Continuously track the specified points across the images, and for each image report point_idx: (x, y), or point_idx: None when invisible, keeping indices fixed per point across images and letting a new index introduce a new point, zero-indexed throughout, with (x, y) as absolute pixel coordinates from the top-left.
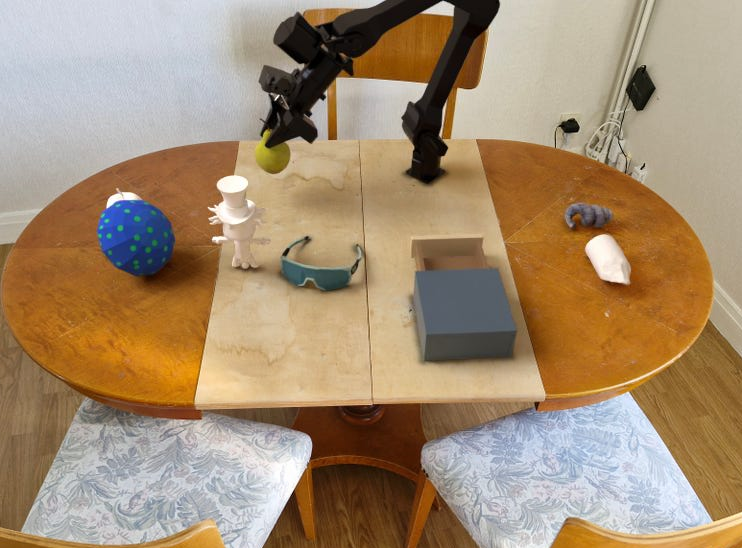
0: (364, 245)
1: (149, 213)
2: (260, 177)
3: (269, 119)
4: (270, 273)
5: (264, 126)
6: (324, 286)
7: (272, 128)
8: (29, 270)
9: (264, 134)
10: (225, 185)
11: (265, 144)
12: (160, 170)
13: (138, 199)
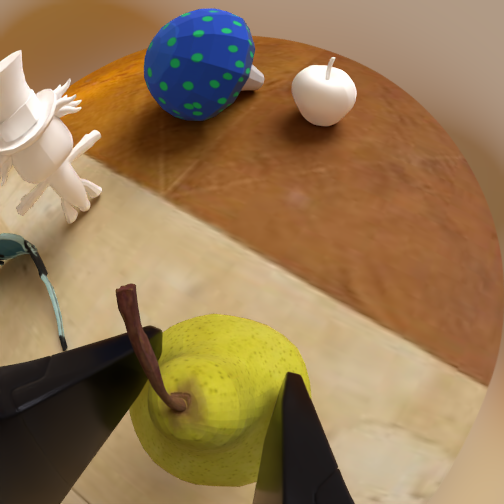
0: None
1: (169, 36)
2: (363, 400)
3: (277, 478)
4: (52, 235)
5: (287, 415)
6: None
7: (264, 467)
8: (282, 45)
9: (194, 360)
10: (6, 64)
11: (143, 327)
12: (465, 212)
13: (318, 89)
